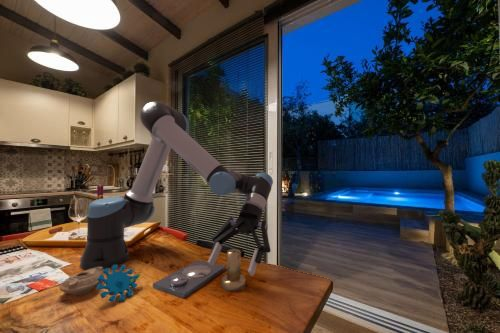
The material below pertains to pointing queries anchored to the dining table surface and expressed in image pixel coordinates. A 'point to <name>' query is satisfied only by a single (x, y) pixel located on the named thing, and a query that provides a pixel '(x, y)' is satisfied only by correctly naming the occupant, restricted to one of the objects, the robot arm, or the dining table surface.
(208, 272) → the carrier plate
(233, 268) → the metal knob
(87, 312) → the dining table surface
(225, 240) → the robot arm
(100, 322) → the dining table surface
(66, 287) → the pottery oil lamp
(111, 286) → the gear
